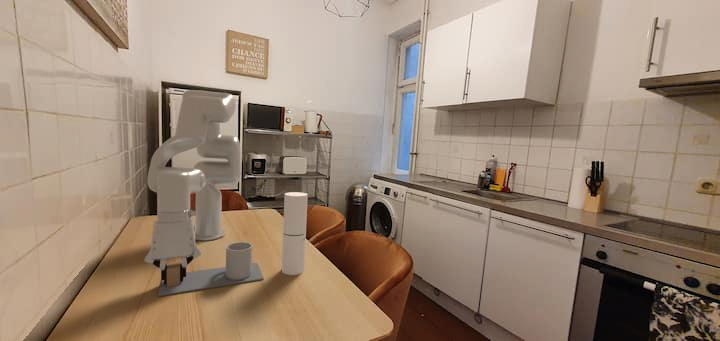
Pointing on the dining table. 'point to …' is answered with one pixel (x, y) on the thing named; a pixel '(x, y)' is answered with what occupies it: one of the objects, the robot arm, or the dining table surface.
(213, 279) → the strip
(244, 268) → the cup
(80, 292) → the dining table surface
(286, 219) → the cylindrical container
